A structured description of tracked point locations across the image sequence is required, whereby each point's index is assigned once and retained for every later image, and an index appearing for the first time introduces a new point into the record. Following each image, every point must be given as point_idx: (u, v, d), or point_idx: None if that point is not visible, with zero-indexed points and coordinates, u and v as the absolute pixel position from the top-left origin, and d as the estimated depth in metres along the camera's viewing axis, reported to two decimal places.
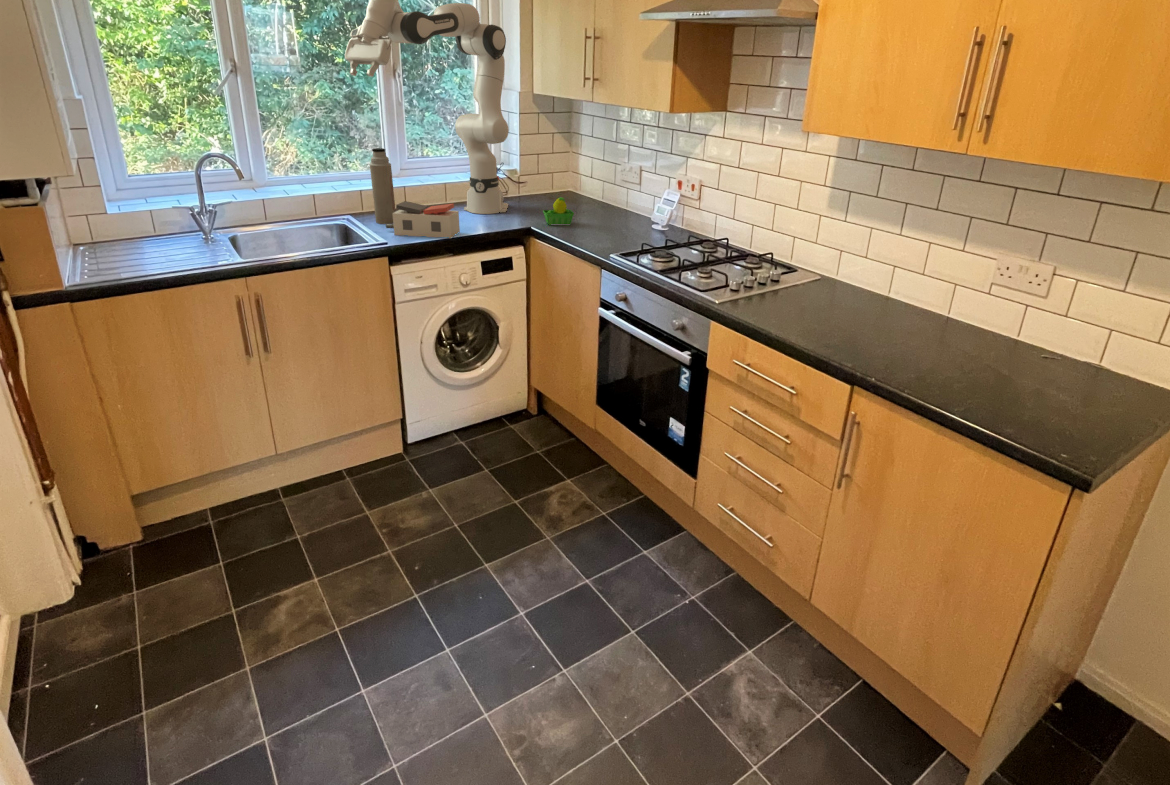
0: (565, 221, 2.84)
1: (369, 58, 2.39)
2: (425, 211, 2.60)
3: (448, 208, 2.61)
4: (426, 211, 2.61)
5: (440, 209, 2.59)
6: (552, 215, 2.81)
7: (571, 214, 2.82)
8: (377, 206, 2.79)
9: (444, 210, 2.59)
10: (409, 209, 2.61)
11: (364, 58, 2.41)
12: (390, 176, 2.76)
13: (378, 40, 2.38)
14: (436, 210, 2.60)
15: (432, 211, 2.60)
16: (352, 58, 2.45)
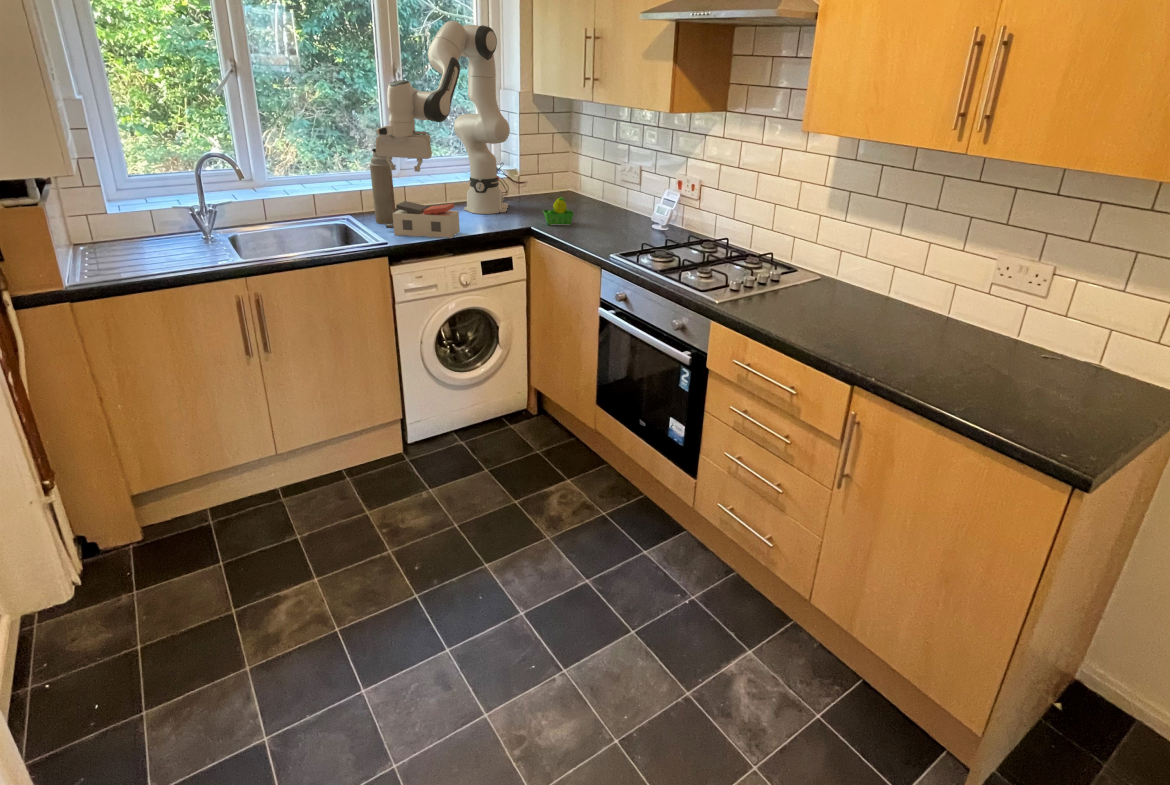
0: (565, 221, 2.84)
1: (413, 157, 2.54)
2: (425, 211, 2.60)
3: (448, 208, 2.61)
4: (426, 211, 2.61)
5: (440, 209, 2.59)
6: (552, 215, 2.81)
7: (571, 214, 2.82)
8: (377, 206, 2.79)
9: (444, 210, 2.59)
10: (409, 209, 2.61)
11: (406, 156, 2.55)
12: (390, 176, 2.76)
13: (417, 138, 2.51)
14: (436, 210, 2.60)
15: (432, 211, 2.60)
16: (389, 156, 2.56)
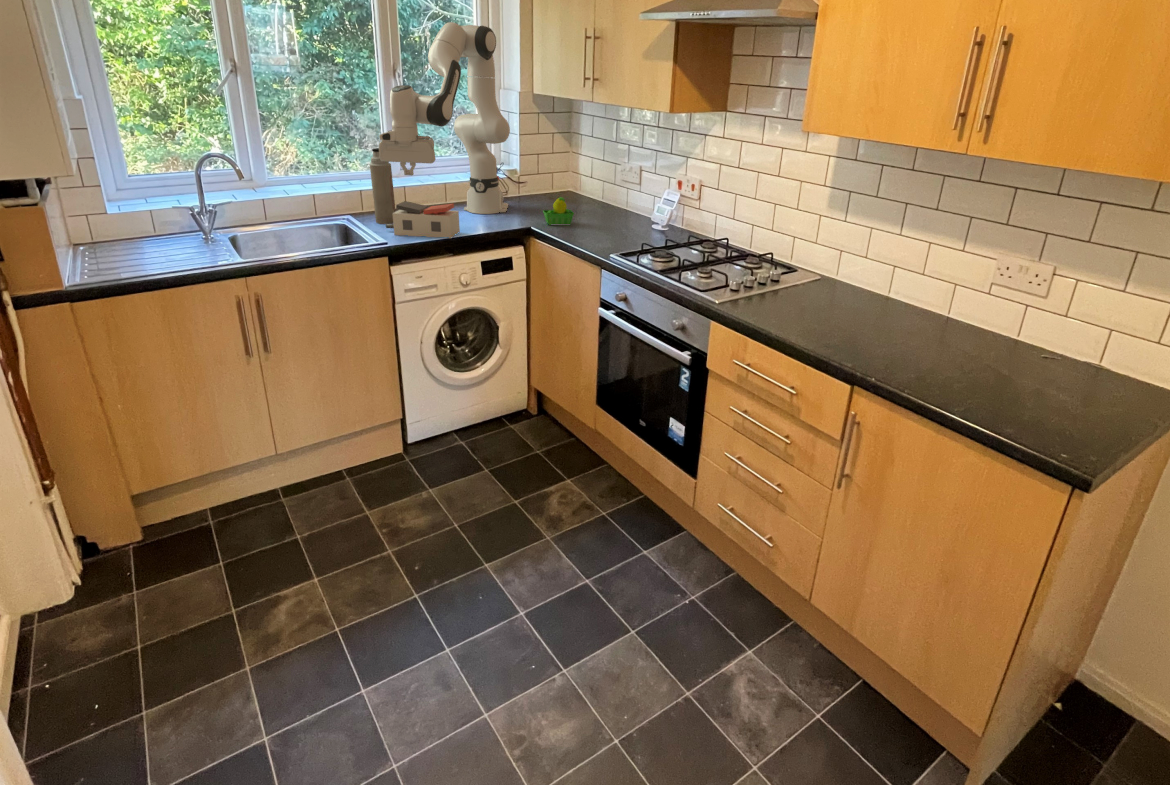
0: (565, 221, 2.84)
1: (417, 161, 2.55)
2: (425, 211, 2.60)
3: (448, 208, 2.61)
4: (426, 211, 2.61)
5: (440, 209, 2.59)
6: (552, 215, 2.81)
7: (571, 214, 2.82)
8: (377, 206, 2.79)
9: (444, 210, 2.59)
10: (409, 209, 2.61)
11: (410, 161, 2.56)
12: (390, 176, 2.76)
13: (421, 143, 2.52)
14: (436, 210, 2.60)
15: (432, 211, 2.60)
16: (392, 161, 2.57)
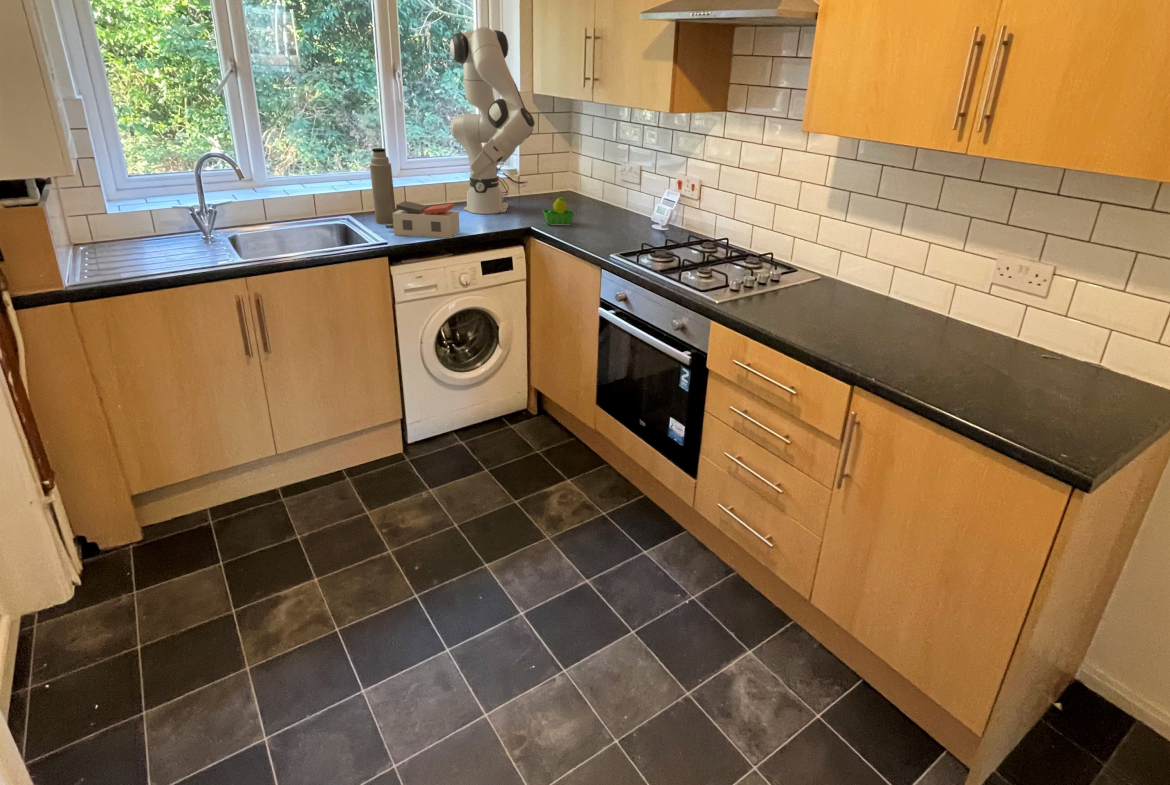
0: (565, 221, 2.84)
1: (490, 169, 2.58)
2: (425, 211, 2.60)
3: (448, 208, 2.61)
4: (426, 211, 2.61)
5: (440, 209, 2.59)
6: (552, 215, 2.81)
7: (571, 214, 2.82)
8: (377, 206, 2.79)
9: (444, 210, 2.59)
10: (409, 209, 2.61)
11: (488, 170, 2.56)
12: (390, 176, 2.76)
13: None
14: (436, 210, 2.60)
15: (432, 211, 2.60)
16: (481, 172, 2.50)
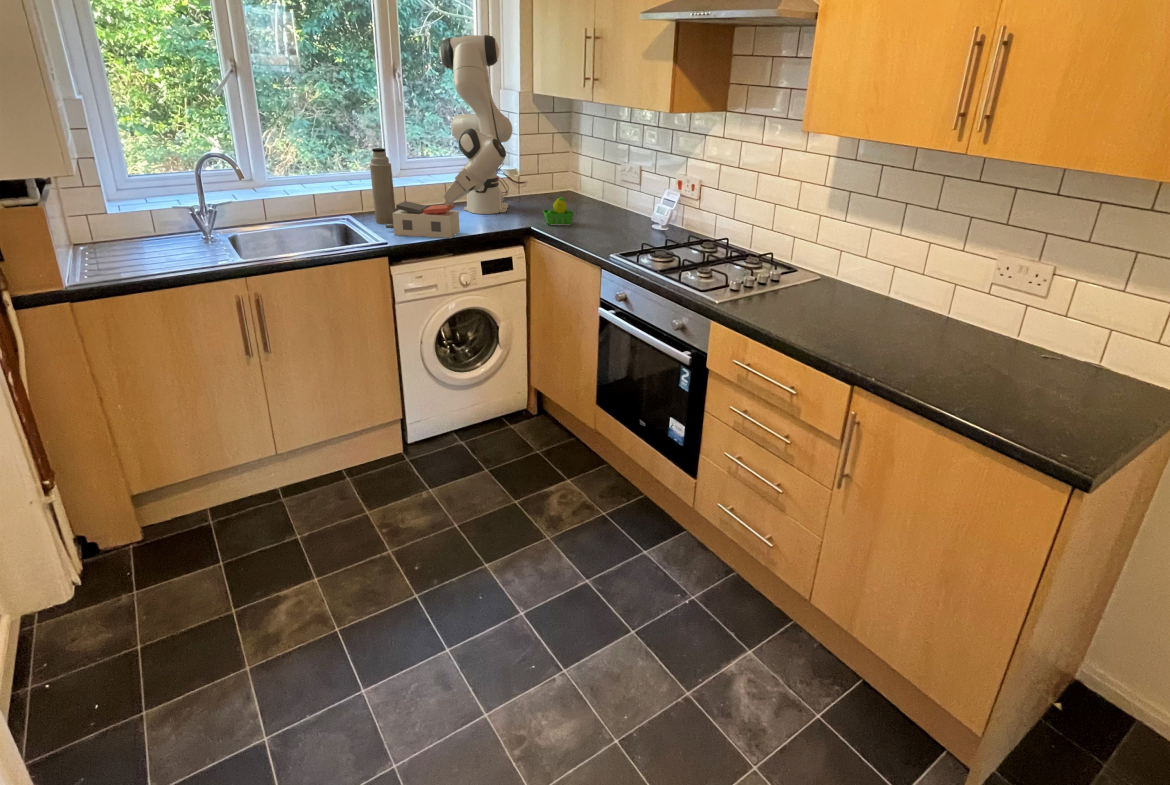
0: (565, 221, 2.84)
1: None
2: (425, 211, 2.60)
3: (448, 208, 2.61)
4: (426, 211, 2.60)
5: (440, 209, 2.59)
6: (552, 215, 2.81)
7: (571, 214, 2.82)
8: (377, 206, 2.79)
9: (444, 210, 2.59)
10: (409, 209, 2.61)
11: None
12: (390, 176, 2.76)
13: None
14: (436, 210, 2.60)
15: (432, 211, 2.60)
16: None
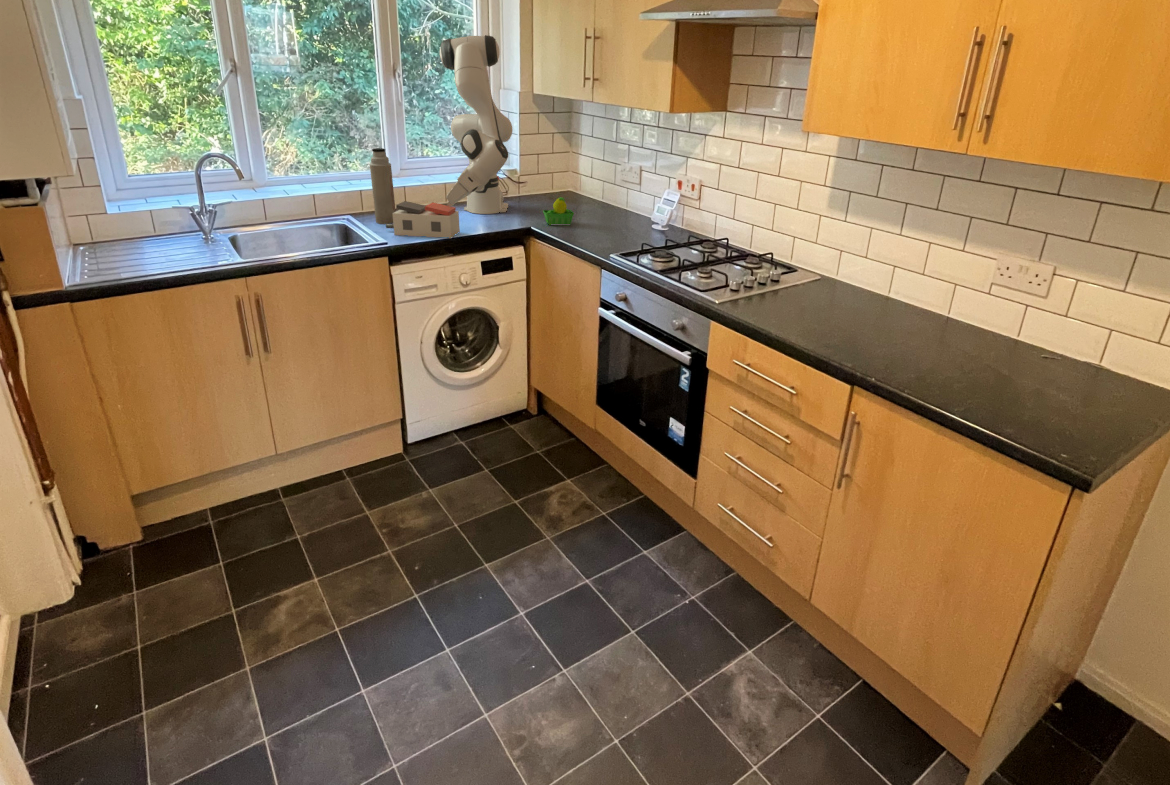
0: (565, 221, 2.84)
1: None
2: (426, 208, 2.60)
3: (450, 212, 2.61)
4: (427, 208, 2.60)
5: (442, 211, 2.59)
6: (552, 215, 2.81)
7: (571, 214, 2.82)
8: (377, 206, 2.79)
9: (445, 213, 2.60)
10: (409, 209, 2.61)
11: None
12: (390, 176, 2.76)
13: None
14: (437, 211, 2.60)
15: (433, 210, 2.60)
16: (456, 201, 2.56)
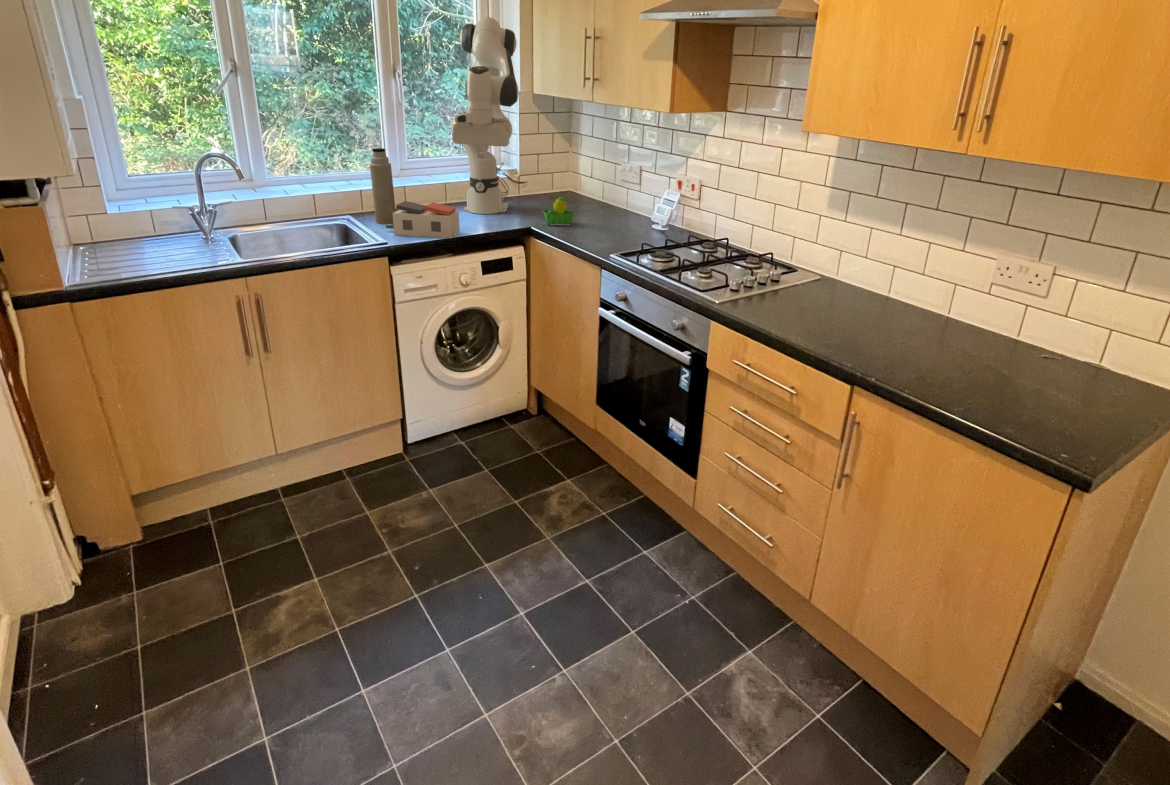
0: (565, 221, 2.84)
1: (492, 144, 2.54)
2: (426, 208, 2.60)
3: (450, 212, 2.61)
4: (427, 208, 2.60)
5: (442, 211, 2.59)
6: (552, 215, 2.81)
7: (571, 214, 2.82)
8: (377, 206, 2.79)
9: (445, 213, 2.60)
10: (409, 209, 2.61)
11: (484, 144, 2.54)
12: (390, 176, 2.76)
13: (496, 126, 2.50)
14: (437, 211, 2.60)
15: (433, 210, 2.60)
16: (466, 143, 2.54)
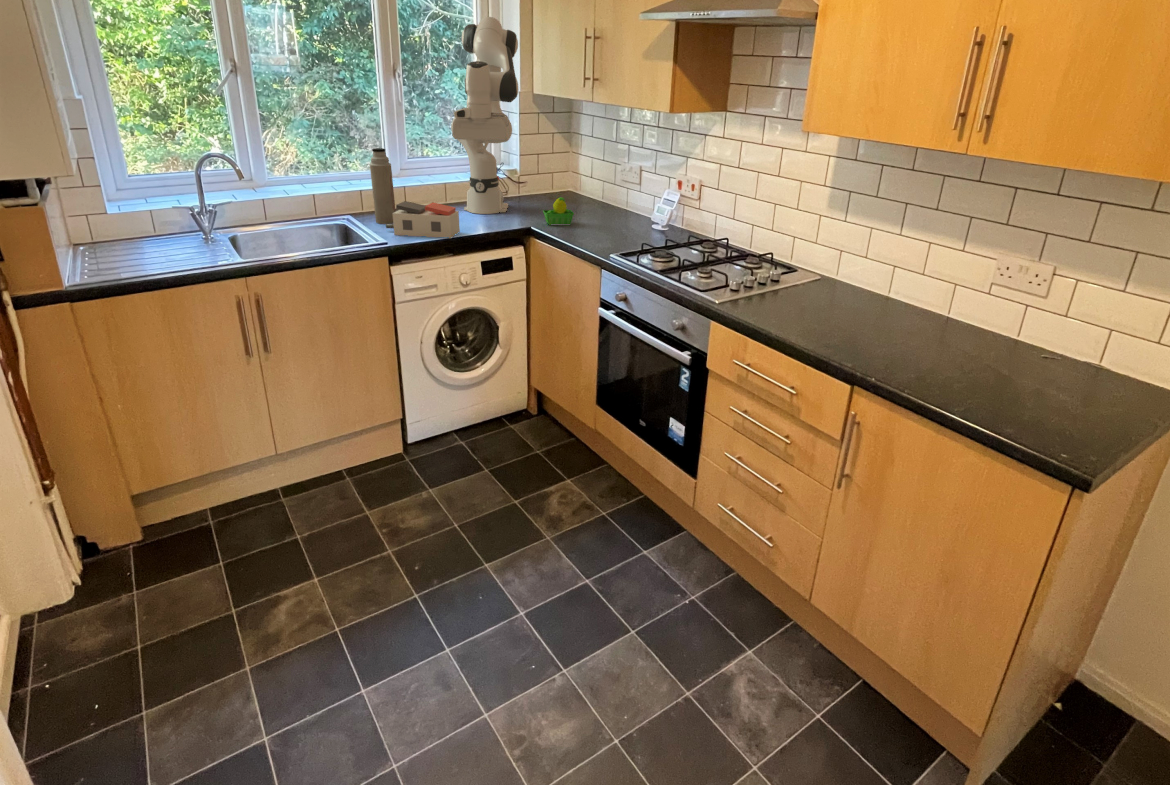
0: (565, 221, 2.84)
1: (491, 139, 2.53)
2: (426, 208, 2.60)
3: (450, 212, 2.61)
4: (427, 208, 2.60)
5: (442, 211, 2.59)
6: (552, 215, 2.81)
7: (571, 214, 2.82)
8: (377, 206, 2.79)
9: (445, 213, 2.60)
10: (409, 209, 2.61)
11: (483, 139, 2.53)
12: (390, 176, 2.76)
13: (495, 120, 2.50)
14: (437, 211, 2.60)
15: (433, 210, 2.60)
16: (465, 138, 2.54)
